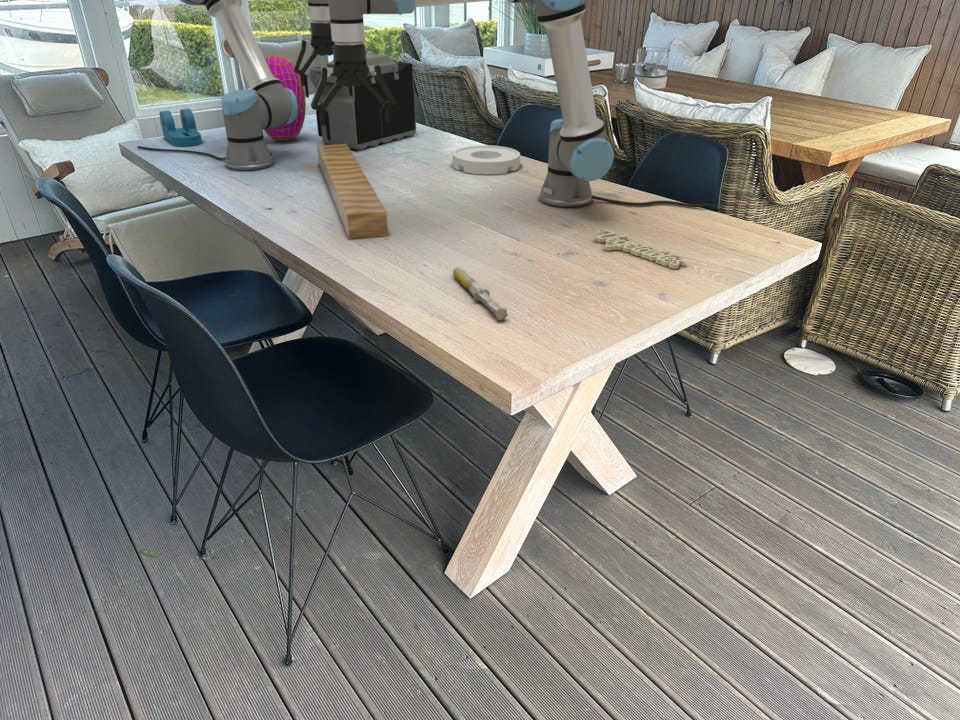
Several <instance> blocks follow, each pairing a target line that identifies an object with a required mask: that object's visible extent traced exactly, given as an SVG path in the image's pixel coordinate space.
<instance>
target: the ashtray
mask: <svg viewBox="0 0 960 720" xmlns="http://www.w3.org/2000/svg"><path fill="white" fill-rule="evenodd" d="M451 154H452V155H451V156H452V161H451V162H452V168H453V169H455V170H457V171H463V173H466V174H474V175H485V176H486V175H502V174H507V173H508V172H515V171H517V170H519V169H520V166H521V153H520V151H518V150H516V149H514V148H512V147H507V146H500V145H487V144H486V145H468V146H464V147H459V148H456V149H454V150H453V151H452V153H451Z"/></svg>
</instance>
